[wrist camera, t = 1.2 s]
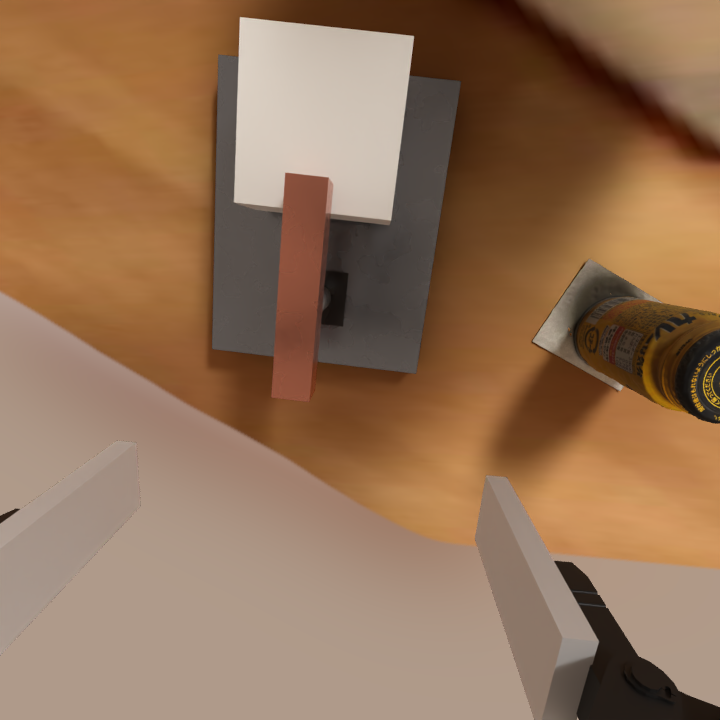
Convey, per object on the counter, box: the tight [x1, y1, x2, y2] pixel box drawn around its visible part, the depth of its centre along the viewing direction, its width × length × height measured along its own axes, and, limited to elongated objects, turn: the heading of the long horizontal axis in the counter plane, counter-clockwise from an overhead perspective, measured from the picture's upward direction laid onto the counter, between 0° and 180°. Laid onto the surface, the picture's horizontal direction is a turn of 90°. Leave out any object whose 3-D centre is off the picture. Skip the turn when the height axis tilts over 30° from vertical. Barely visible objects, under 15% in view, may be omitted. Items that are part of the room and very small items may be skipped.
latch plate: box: [212, 55, 461, 374], centre depth 28 cm, size 20×16×7 cm
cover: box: [234, 17, 414, 225], centre depth 24 cm, size 9×9×4 cm
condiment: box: [532, 259, 720, 423], centre depth 27 cm, size 7×8×12 cm
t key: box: [271, 173, 333, 402], centre depth 26 cm, size 12×2×8 cm, turn 174°
